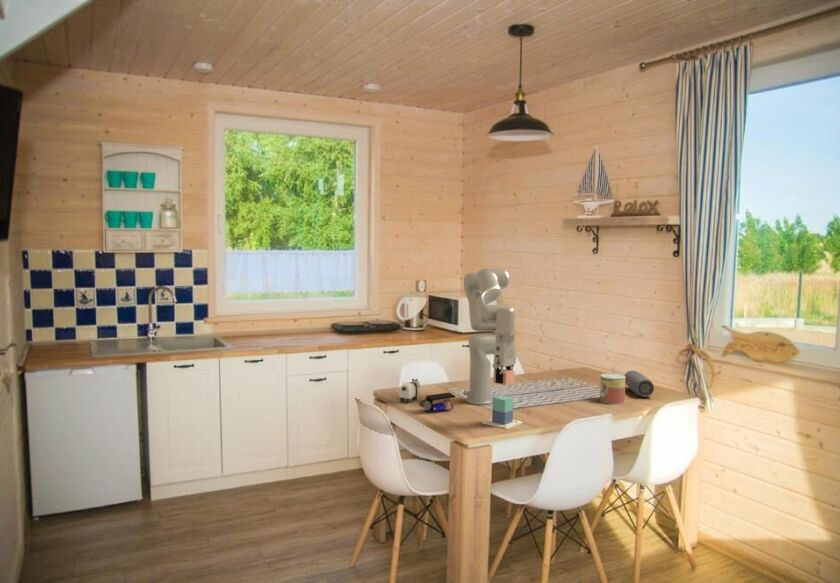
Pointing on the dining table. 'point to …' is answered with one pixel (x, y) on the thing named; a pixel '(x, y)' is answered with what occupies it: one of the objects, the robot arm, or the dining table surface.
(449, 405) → the figurine character
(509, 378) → the coral brick
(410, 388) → the giant panda
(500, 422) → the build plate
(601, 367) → the dining table surface
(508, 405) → the teal brick
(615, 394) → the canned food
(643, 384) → the bluetooth speaker
